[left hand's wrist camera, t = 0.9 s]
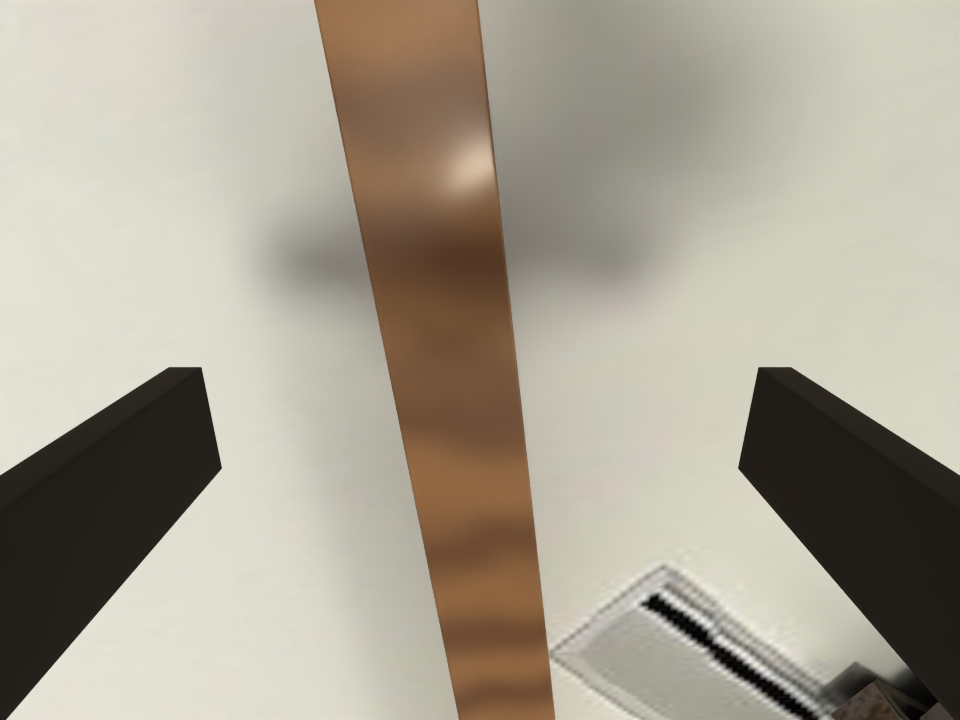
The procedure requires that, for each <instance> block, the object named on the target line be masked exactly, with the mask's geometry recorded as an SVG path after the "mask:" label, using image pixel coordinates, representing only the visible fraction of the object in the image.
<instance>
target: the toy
mask: <svg viewBox="0 0 960 720" xmlns="http://www.w3.org/2000/svg"><path fill="white" fill-rule="evenodd" d="M832 716H833V717H834V719H835V720H954V719H953V718H952V717H951V716H950V714H949V713H948V712H947V711H946V710H945V709H944V707H943V706H942V705H941V704H940V703H939V702H937V703H936V704H935V705H934V706H933V707H932V708H929V707H928V706H926V705H924V704H922V703H921V702H919V701H917V700H915V699H913V698H912V697H910V696H908V695H906V694H905V693H903V692H901V691H899V690H897V689H896V688H894V687H892V686H890V685H889V684H887V683H885V682H883V681H881V680H880V679H878V678H877V679H876V680H875V681H874V682H872V683H870V684H869V685H867V686H866V687H865V688H864V689H862V690H861V691H860V692H859V693H857V694H856V695H855V696H853V697H852V698H851V699H850V700H848V701H847V702H846V703H845V704H843V705H842V706H841V707H840V708H838V709H837V710H836V711H834V712H833V713H832Z"/></svg>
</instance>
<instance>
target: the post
mask: <svg viewBox="0 0 960 720" xmlns="http://www.w3.org/2000/svg"><path fill="white" fill-rule="evenodd" d="M314 3H315V8H316V13H317V18H318V23H319V28H320V33H321V38H322V43H323V48H324V53H325V58H326V63H327V67H328V72H329V77H330V82H331V87H332V92H333V97H334V102H335V107H336V112H337V117H338V122H339V127H340V132H341V137H342V142H343V147H344V152H345V157H346V162H347V167H348V172H349V176H350V181H351V186H352V191H353V196H354V201H355V206H356V211H357V216H358V221H359V226H360V231H361V236H362V241H363V246H364V251H365V256H366V261H367V266H368V271H369V276H370V281H371V286H372V290H373V295H374V300H375V305H376V310H377V315H378V320H379V325H380V330H381V335H382V340H383V345H384V350H385V355H386V360H387V365H388V370H389V375H390V380H391V385H392V390H393V395H394V399H395V404H396V409H397V414H398V419H399V424H400V429H401V434H402V439H403V444H404V449H405V454H406V459H407V464H408V469H409V474H410V479H411V484H412V489H413V494H414V499H415V504H416V509H417V513H418V518H419V523H420V528H421V533H422V538H423V543H424V548H425V553H426V558H427V563H428V568H429V573H430V578H431V583H432V588H433V593H434V598H435V603H436V608H437V613H438V618H439V622H440V627H441V632H442V637H443V642H444V647H445V652H446V657H447V662H448V667H449V672H450V677H451V682H452V687H453V692H454V697H455V702H456V707H457V712H458V717H459V720H555V712H554V703H553V694H552V684H551V675H550V666H549V657H548V647H547V638H546V629H545V620H544V610H543V601H542V592H541V583H540V573H539V564H538V555H537V546H536V536H535V527H534V518H533V509H532V499H531V490H530V481H529V471H528V462H527V453H526V444H525V434H524V425H523V416H522V407H521V397H520V388H519V379H518V370H517V360H516V351H515V342H514V333H513V323H512V314H511V305H510V296H509V286H508V277H507V268H506V258H505V249H504V240H503V231H502V221H501V212H500V203H499V194H498V184H497V175H496V166H495V157H494V147H493V138H492V129H491V120H490V110H489V101H488V92H487V83H486V73H485V64H484V55H483V46H482V36H481V27H480V18H479V8H478V0H314Z"/></svg>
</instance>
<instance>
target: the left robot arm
mask: <svg viewBox="0 0 960 720" xmlns="http://www.w3.org/2000/svg"><path fill="white" fill-rule="evenodd" d="M221 469H222V466H221V462H220V457H219V452H218V447H217V442H216V437H215V432H214V427H213V422H212V417H211V412H210V407H209V402H208V397H207V392H206V388H205V383H204V378H203V373H202V368H201V367H169V368H167V369H165V370H164V371H162V372H161V373H159V374H158V375H156V376H155V377H153V378H151V379H150V380H148V381H147V382H145V383H144V384H142V385H141V386H139V387H137V388H136V389H134V390H133V391H131V392H130V393H128V394H126V395H125V396H123V397H122V398H120V399H119V400H117V401H116V402H114V403H112V404H111V405H109V406H108V407H106V408H105V409H103V410H102V411H100V412H98V413H97V414H95V415H94V416H92V417H91V418H89V419H87V420H86V421H84V422H83V423H81V424H80V425H78V426H77V427H75V428H73V429H72V430H70V431H69V432H67V433H66V434H64V435H63V436H61V437H59V438H58V439H56V440H55V441H53V442H52V443H50V444H48V445H47V446H45V447H44V448H42V449H41V450H39V451H38V452H36V453H34V454H33V455H31V456H30V457H28V458H27V459H25V460H24V461H22V462H20V463H19V464H17V465H16V466H14V467H13V468H11V469H9V470H8V471H6V472H5V473H3V474H2V475H0V720H6V719H7V718H8V717H9V716H10V714H11V713H12V712H13V711H14V710H15V709H16V707H17V706H18V705H19V704H20V703H21V702H22V701H23V699H24V698H25V697H26V696H27V695H28V694H29V692H30V691H31V690H32V689H33V688H34V687H35V685H36V684H37V683H38V682H39V681H40V680H41V678H42V677H43V676H44V675H45V674H46V673H47V671H48V670H49V669H50V668H51V667H52V666H53V664H54V663H55V662H56V661H57V660H58V659H59V657H60V656H61V655H62V654H63V653H64V652H65V650H66V649H67V648H68V647H69V646H70V645H71V643H72V642H73V641H74V640H75V639H76V638H77V636H78V635H79V634H80V633H81V632H82V631H83V629H84V628H85V627H86V626H87V625H88V624H89V623H90V621H91V620H92V619H93V618H94V617H95V616H96V614H97V613H98V612H99V611H100V610H101V609H102V607H103V606H104V605H105V604H106V603H107V602H108V600H109V599H110V598H111V597H112V596H113V595H114V593H115V592H116V591H117V590H118V589H119V588H120V586H121V585H122V584H123V583H124V582H125V581H126V579H127V578H128V577H129V576H130V575H131V574H132V572H133V571H134V570H135V569H136V568H137V567H138V565H139V564H140V563H141V562H142V561H143V560H144V558H145V557H146V556H147V555H148V554H149V553H150V551H151V550H152V549H153V548H154V547H155V546H156V545H157V543H158V542H159V541H160V540H161V539H162V538H163V536H164V535H165V534H166V533H167V532H168V531H169V529H170V528H171V527H172V526H173V525H174V524H175V522H176V521H177V520H178V519H179V518H180V517H181V515H182V514H183V513H184V512H185V511H186V510H187V508H188V507H189V506H190V505H191V504H192V503H193V501H194V500H195V499H196V498H197V497H198V496H199V494H200V493H201V492H202V491H203V490H204V489H205V487H206V486H207V485H208V484H209V483H210V482H211V480H212V479H213V478H214V477H215V476H216V475H217V473H218V472H219V471H220V470H221ZM738 469H739V470H740V471H741V472H742V473H743V475H744V476H745V477H746V478H747V479H748V480H749V482H750V483H751V484H752V485H753V486H754V487H755V489H756V490H757V491H758V492H759V493H760V494H761V496H762V497H763V498H764V499H765V500H766V501H767V503H768V504H769V505H770V506H771V507H772V508H773V510H774V511H775V512H776V513H777V514H778V515H779V517H780V518H781V519H782V520H783V521H784V522H785V524H786V525H787V526H788V527H789V528H790V529H791V531H792V532H793V533H794V534H795V535H796V536H797V538H798V539H799V540H800V541H801V542H802V543H803V545H804V546H805V547H806V548H807V549H808V550H809V551H810V553H811V554H812V555H813V556H814V557H815V558H816V560H817V561H818V562H819V563H820V564H821V565H822V567H823V568H824V569H825V570H826V571H827V572H828V574H829V575H830V576H831V577H832V578H833V579H834V581H835V582H836V583H837V584H838V585H839V586H840V588H841V589H842V590H843V591H844V592H845V593H846V595H847V596H848V597H849V598H850V599H851V600H852V602H853V603H854V604H855V605H856V606H857V607H858V609H859V610H860V611H861V612H862V613H863V614H864V616H865V617H866V618H867V619H868V620H869V621H870V623H871V624H872V625H873V626H874V627H875V628H876V629H877V631H878V632H879V633H880V634H881V635H882V636H883V638H884V639H885V640H886V641H887V642H888V643H889V645H890V646H891V647H892V648H893V649H894V650H895V652H896V653H897V654H898V655H899V656H900V657H901V659H902V660H903V661H904V662H905V663H906V664H907V666H908V667H909V668H910V669H911V670H912V671H913V673H914V674H915V675H916V676H917V677H918V678H919V680H920V681H921V682H922V683H923V684H924V685H925V687H926V688H927V689H928V690H929V691H930V692H931V694H932V695H933V696H934V697H935V698H936V699H937V701H938V702H939V703H940V704H941V705H942V706H943V707H944V709H945V710H946V711H947V712H948V713H949V714H950V716H951V717H952V718H953V719H954V720H960V475H958V474H957V473H955V472H954V471H952V470H951V469H949V468H947V467H946V466H944V465H943V464H941V463H940V462H938V461H936V460H935V459H933V458H932V457H930V456H929V455H927V454H926V453H924V452H922V451H921V450H919V449H918V448H916V447H915V446H913V445H912V444H910V443H908V442H907V441H905V440H904V439H902V438H901V437H899V436H897V435H896V434H894V433H893V432H891V431H890V430H888V429H887V428H885V427H883V426H882V425H880V424H879V423H877V422H876V421H874V420H873V419H871V418H869V417H868V416H866V415H865V414H863V413H862V412H860V411H858V410H857V409H855V408H854V407H852V406H851V405H849V404H848V403H846V402H844V401H843V400H841V399H840V398H838V397H837V396H835V395H834V394H832V393H830V392H829V391H827V390H826V389H824V388H823V387H821V386H819V385H818V384H816V383H815V382H813V381H812V380H810V379H809V378H807V377H805V376H804V375H802V374H801V373H799V372H798V371H796V370H795V369H793V368H791V367H759V368H758V373H757V378H756V383H755V388H754V392H753V397H752V402H751V407H750V412H749V417H748V422H747V427H746V432H745V437H744V442H743V447H742V452H741V457H740V462H739V466H738Z"/></svg>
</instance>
